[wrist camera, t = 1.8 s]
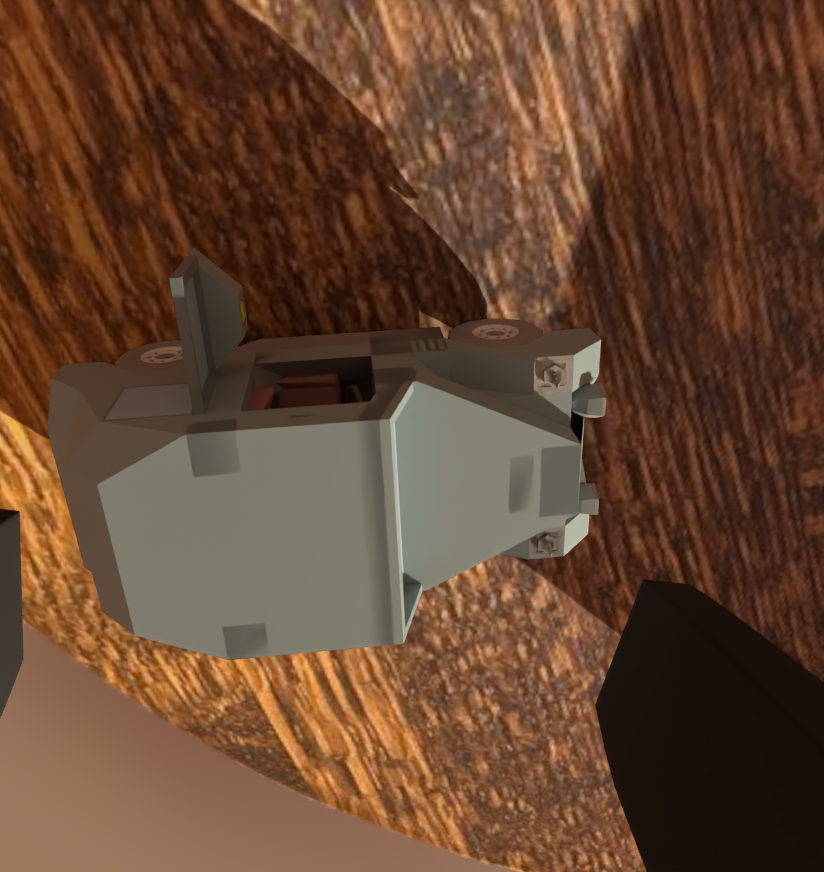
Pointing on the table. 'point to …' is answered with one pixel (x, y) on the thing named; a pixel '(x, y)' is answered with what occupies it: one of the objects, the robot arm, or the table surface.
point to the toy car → (316, 470)
